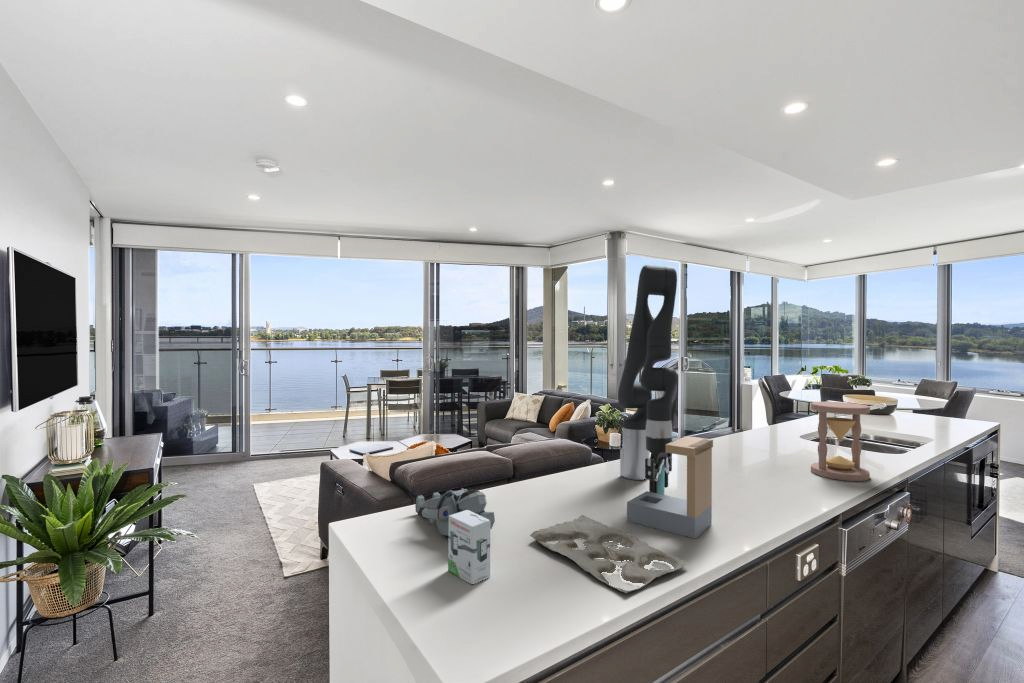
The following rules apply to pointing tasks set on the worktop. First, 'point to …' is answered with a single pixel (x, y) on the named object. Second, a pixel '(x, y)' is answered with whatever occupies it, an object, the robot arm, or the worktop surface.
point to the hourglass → (840, 426)
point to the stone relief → (605, 550)
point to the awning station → (675, 511)
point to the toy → (452, 506)
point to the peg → (661, 481)
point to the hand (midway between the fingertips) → (658, 490)
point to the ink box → (469, 546)
